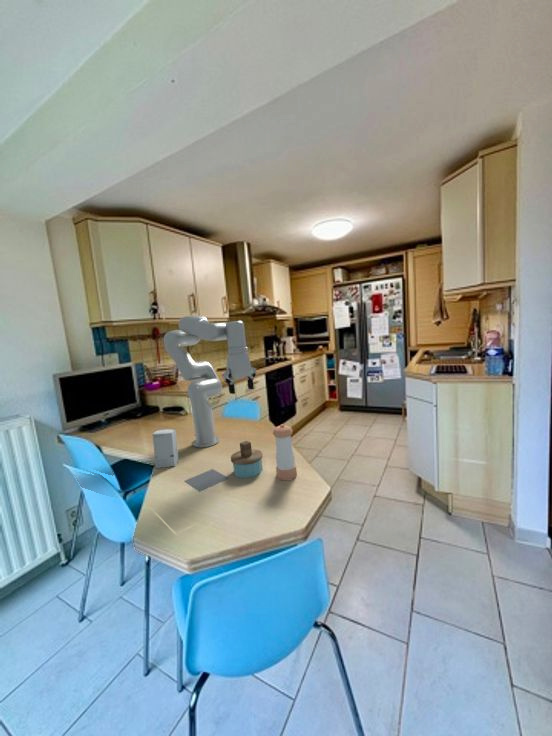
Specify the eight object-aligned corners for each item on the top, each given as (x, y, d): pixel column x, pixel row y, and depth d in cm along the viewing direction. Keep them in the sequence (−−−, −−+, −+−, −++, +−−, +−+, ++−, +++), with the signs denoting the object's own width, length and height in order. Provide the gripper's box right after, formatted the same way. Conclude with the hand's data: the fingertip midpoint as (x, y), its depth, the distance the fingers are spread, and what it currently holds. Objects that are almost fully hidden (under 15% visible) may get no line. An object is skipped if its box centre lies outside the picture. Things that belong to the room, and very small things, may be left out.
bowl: (228, 472, 117) (227, 459, 116) (250, 463, 124) (249, 450, 123) (245, 481, 109) (243, 466, 108) (268, 470, 116) (266, 456, 115)
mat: (184, 481, 113) (184, 480, 113) (212, 469, 121) (212, 469, 121) (199, 492, 104) (199, 491, 104) (229, 479, 112) (229, 478, 112)
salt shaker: (273, 474, 112) (268, 424, 110) (291, 468, 115) (286, 420, 113) (281, 482, 106) (276, 429, 103) (300, 476, 109) (295, 424, 106)
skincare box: (155, 468, 127) (150, 434, 125) (160, 462, 133) (156, 429, 131) (176, 466, 127) (171, 432, 125) (180, 460, 133) (175, 427, 131)
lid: (224, 459, 116) (223, 444, 115) (249, 449, 124) (248, 435, 123) (243, 467, 107) (241, 451, 107) (269, 456, 115) (267, 441, 114)
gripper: (248, 349, 136) (252, 386, 138) (214, 353, 124) (219, 394, 126) (259, 348, 130) (263, 388, 132) (224, 353, 119) (229, 396, 121)
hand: (241, 391), depth 129 cm, fingers open, 9 cm apart
